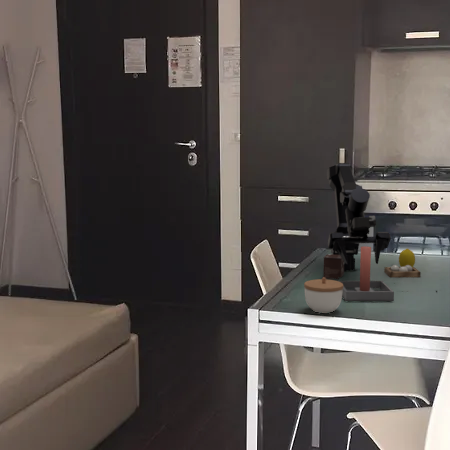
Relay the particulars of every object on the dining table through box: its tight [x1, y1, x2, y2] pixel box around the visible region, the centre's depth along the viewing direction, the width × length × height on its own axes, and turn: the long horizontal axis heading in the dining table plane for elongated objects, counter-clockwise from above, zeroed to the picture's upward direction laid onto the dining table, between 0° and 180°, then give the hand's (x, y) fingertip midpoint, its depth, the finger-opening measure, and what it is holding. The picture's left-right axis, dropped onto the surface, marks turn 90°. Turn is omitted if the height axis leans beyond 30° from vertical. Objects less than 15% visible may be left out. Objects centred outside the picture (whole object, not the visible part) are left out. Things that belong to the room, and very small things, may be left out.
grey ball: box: [399, 266, 408, 272], centre depth 238 cm, size 3×3×3 cm
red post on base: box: [353, 245, 374, 291], centre depth 213 cm, size 6×5×14 cm
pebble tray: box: [383, 266, 422, 278], centre depth 239 cm, size 10×8×2 cm
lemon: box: [398, 248, 416, 267], centre depth 248 cm, size 6×6×8 cm
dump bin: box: [338, 280, 395, 302], centre depth 214 cm, size 14×14×3 cm
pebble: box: [405, 265, 413, 272], centre depth 240 cm, size 3×3×3 cm
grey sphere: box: [390, 264, 400, 272], centre depth 240 cm, size 3×3×3 cm
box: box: [322, 253, 345, 281], centre depth 239 cm, size 6×6×7 cm
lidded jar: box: [303, 277, 343, 313], centre depth 198 cm, size 11×11×9 cm
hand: (362, 263), depth 218 cm, fingers open, 9 cm apart
